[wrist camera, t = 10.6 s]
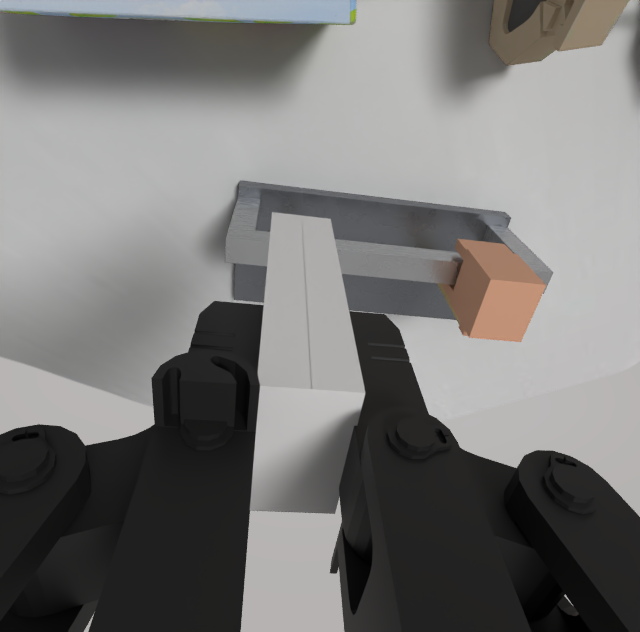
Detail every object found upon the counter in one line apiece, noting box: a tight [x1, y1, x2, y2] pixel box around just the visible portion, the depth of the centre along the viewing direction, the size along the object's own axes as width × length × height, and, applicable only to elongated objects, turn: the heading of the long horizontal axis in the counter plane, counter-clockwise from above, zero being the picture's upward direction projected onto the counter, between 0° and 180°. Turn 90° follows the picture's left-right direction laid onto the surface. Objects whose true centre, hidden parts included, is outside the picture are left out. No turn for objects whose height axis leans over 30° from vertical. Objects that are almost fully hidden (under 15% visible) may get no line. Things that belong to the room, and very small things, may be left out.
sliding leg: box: [437, 239, 546, 342], centre depth 40 cm, size 4×7×15 cm, turn 172°
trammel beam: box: [225, 196, 553, 294], centre depth 42 cm, size 26×6×11 cm, turn 82°
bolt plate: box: [234, 181, 511, 320], centre depth 47 cm, size 26×12×2 cm, turn 82°
